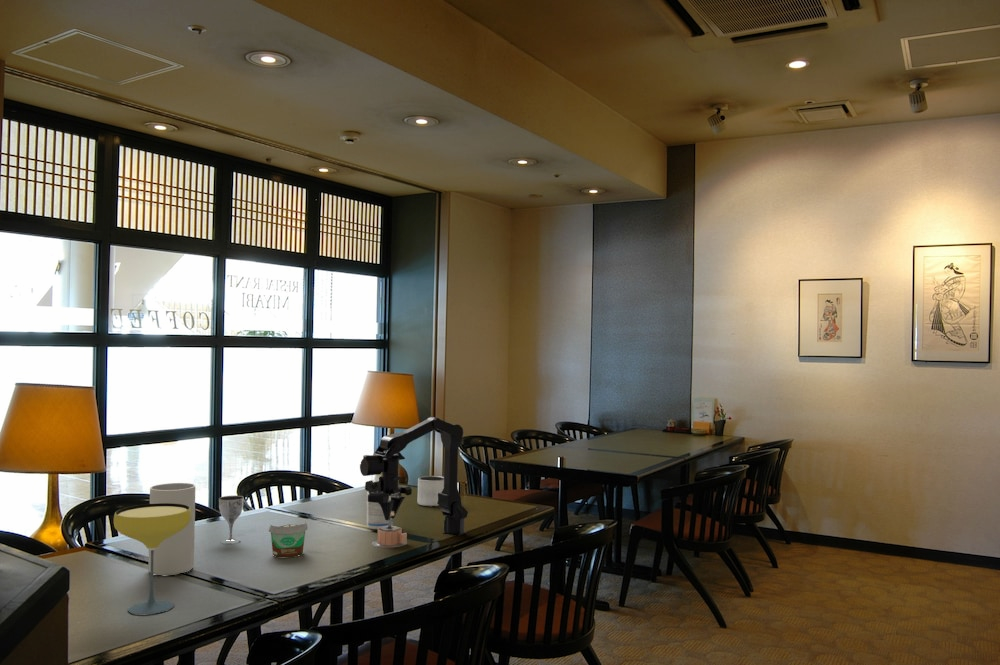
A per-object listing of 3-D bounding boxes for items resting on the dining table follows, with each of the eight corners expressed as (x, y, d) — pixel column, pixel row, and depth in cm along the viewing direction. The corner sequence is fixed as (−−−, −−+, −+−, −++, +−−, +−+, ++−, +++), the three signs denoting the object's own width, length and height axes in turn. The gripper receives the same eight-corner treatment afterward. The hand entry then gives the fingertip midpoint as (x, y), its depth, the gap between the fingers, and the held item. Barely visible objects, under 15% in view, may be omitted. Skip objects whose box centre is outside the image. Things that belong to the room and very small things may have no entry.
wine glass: (247, 540, 270) (248, 496, 270) (231, 545, 263) (231, 500, 263) (230, 537, 273) (231, 494, 273) (213, 542, 266) (213, 498, 266)
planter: (445, 507, 329) (445, 480, 329) (415, 507, 329) (416, 480, 329) (447, 501, 341) (448, 475, 342) (419, 501, 342) (419, 475, 342)
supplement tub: (396, 529, 289) (397, 489, 290) (373, 532, 284) (373, 491, 284) (385, 523, 297) (386, 485, 298) (362, 526, 292) (362, 487, 292)
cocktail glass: (119, 625, 187) (121, 521, 188) (105, 605, 202) (107, 507, 202) (197, 611, 198) (199, 512, 198) (179, 592, 213) (181, 500, 213)
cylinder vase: (165, 579, 224) (167, 492, 225) (139, 572, 231) (141, 487, 231) (202, 569, 235) (204, 485, 235) (176, 562, 242) (178, 481, 242)
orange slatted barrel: (410, 542, 267) (411, 527, 267) (397, 547, 260) (398, 532, 260) (386, 539, 272) (386, 524, 272) (372, 544, 264) (373, 529, 264)
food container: (272, 560, 245) (272, 528, 245) (268, 556, 250) (268, 524, 251) (311, 556, 251) (311, 525, 251) (306, 551, 256) (307, 521, 256)
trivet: (413, 542, 269) (413, 541, 269) (394, 551, 258) (394, 549, 258) (384, 538, 274) (384, 537, 274) (364, 546, 263) (364, 544, 263)
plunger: (400, 533, 268) (400, 510, 268) (391, 536, 263) (392, 513, 263) (387, 531, 270) (387, 509, 270) (378, 535, 265) (379, 511, 265)
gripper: (385, 467, 279) (385, 511, 278) (354, 475, 262) (353, 522, 261) (412, 470, 274) (412, 515, 273) (382, 478, 257) (381, 525, 257)
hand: (389, 519), depth 266 cm, fingers closed on plunger, 3 cm apart
